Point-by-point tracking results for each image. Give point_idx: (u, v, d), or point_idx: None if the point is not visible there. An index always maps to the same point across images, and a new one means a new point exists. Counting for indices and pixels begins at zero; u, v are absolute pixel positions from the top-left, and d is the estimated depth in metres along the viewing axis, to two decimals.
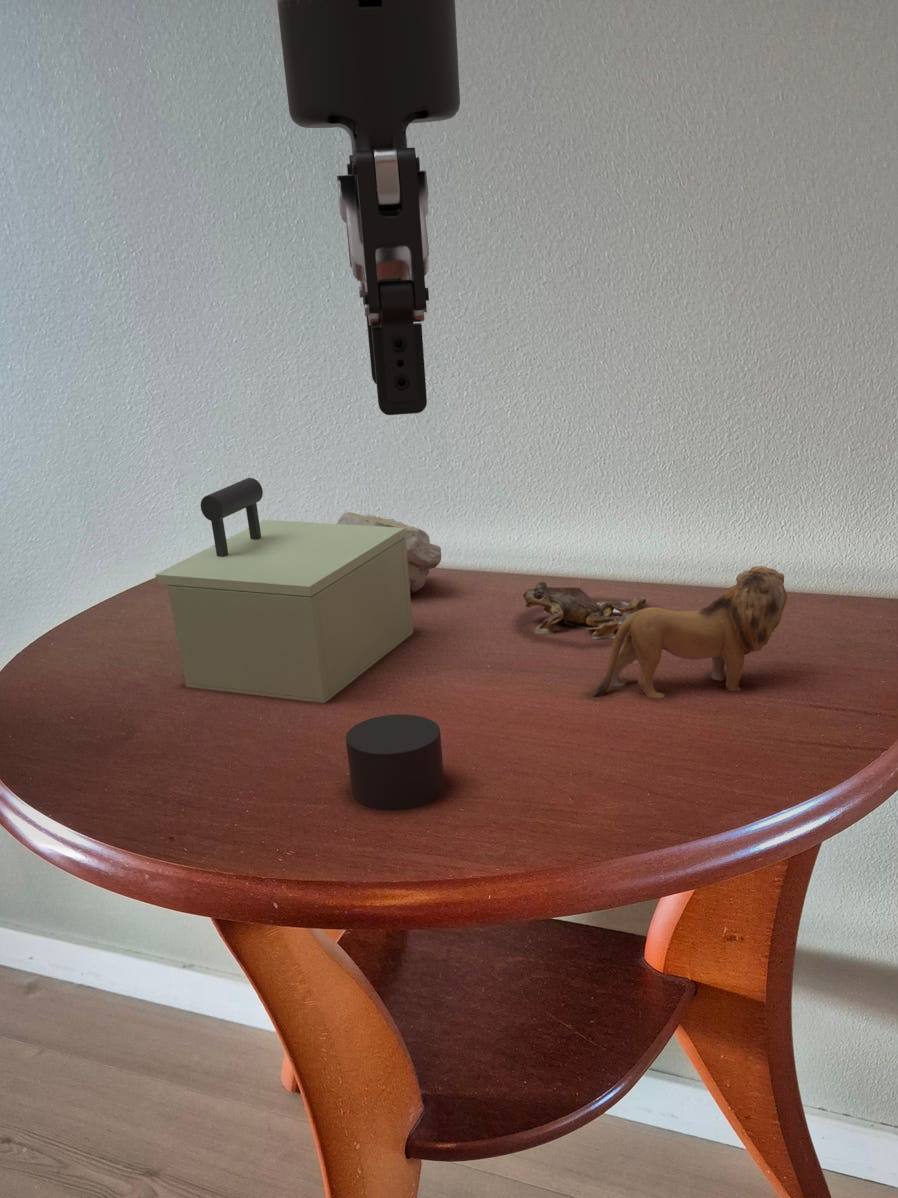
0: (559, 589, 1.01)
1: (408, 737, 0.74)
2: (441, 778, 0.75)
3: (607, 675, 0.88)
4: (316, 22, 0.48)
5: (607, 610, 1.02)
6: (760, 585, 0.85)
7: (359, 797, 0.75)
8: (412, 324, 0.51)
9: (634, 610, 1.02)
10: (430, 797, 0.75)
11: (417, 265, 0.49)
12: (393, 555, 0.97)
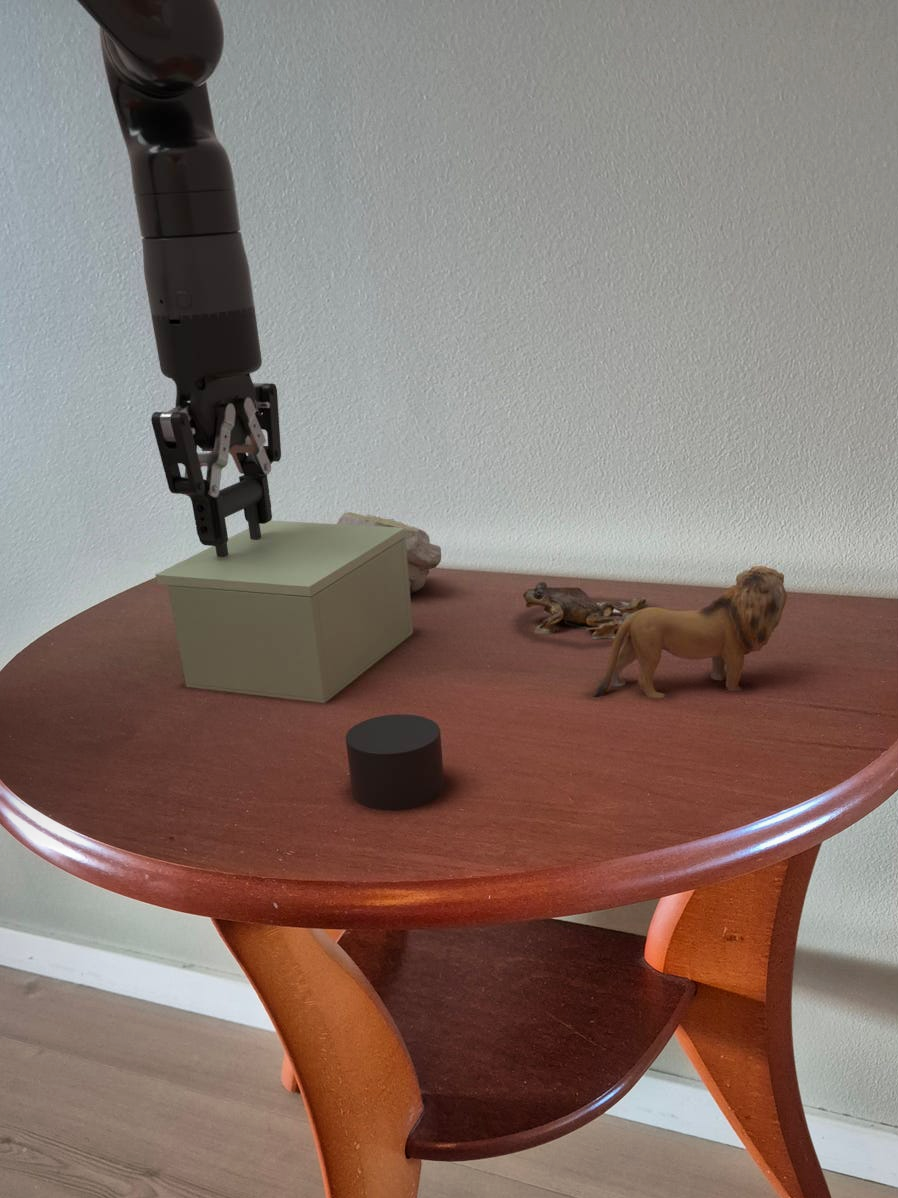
0: (559, 589, 1.01)
1: (408, 737, 0.74)
2: (441, 778, 0.75)
3: (607, 675, 0.88)
4: (156, 328, 0.85)
5: (607, 610, 1.02)
6: (760, 585, 0.85)
7: (359, 797, 0.75)
8: (205, 499, 0.89)
9: (634, 610, 1.02)
10: (430, 797, 0.75)
11: (189, 474, 0.86)
12: (393, 555, 0.97)
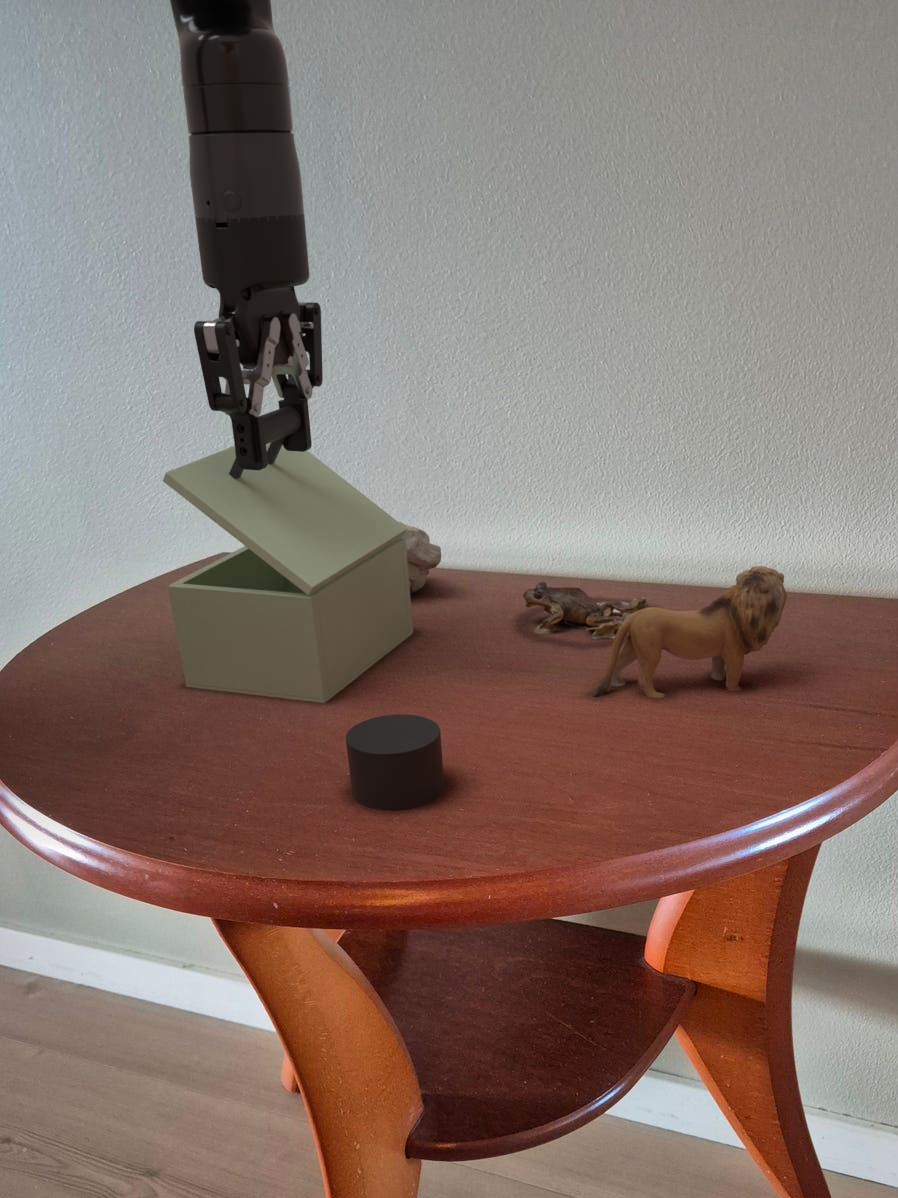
0: (559, 589, 1.01)
1: (408, 737, 0.74)
2: (441, 778, 0.75)
3: (607, 675, 0.88)
4: (200, 233, 0.81)
5: (607, 610, 1.02)
6: (760, 585, 0.85)
7: (359, 797, 0.75)
8: (246, 418, 0.85)
9: (634, 610, 1.02)
10: (430, 797, 0.75)
11: (231, 389, 0.82)
12: (393, 555, 0.97)
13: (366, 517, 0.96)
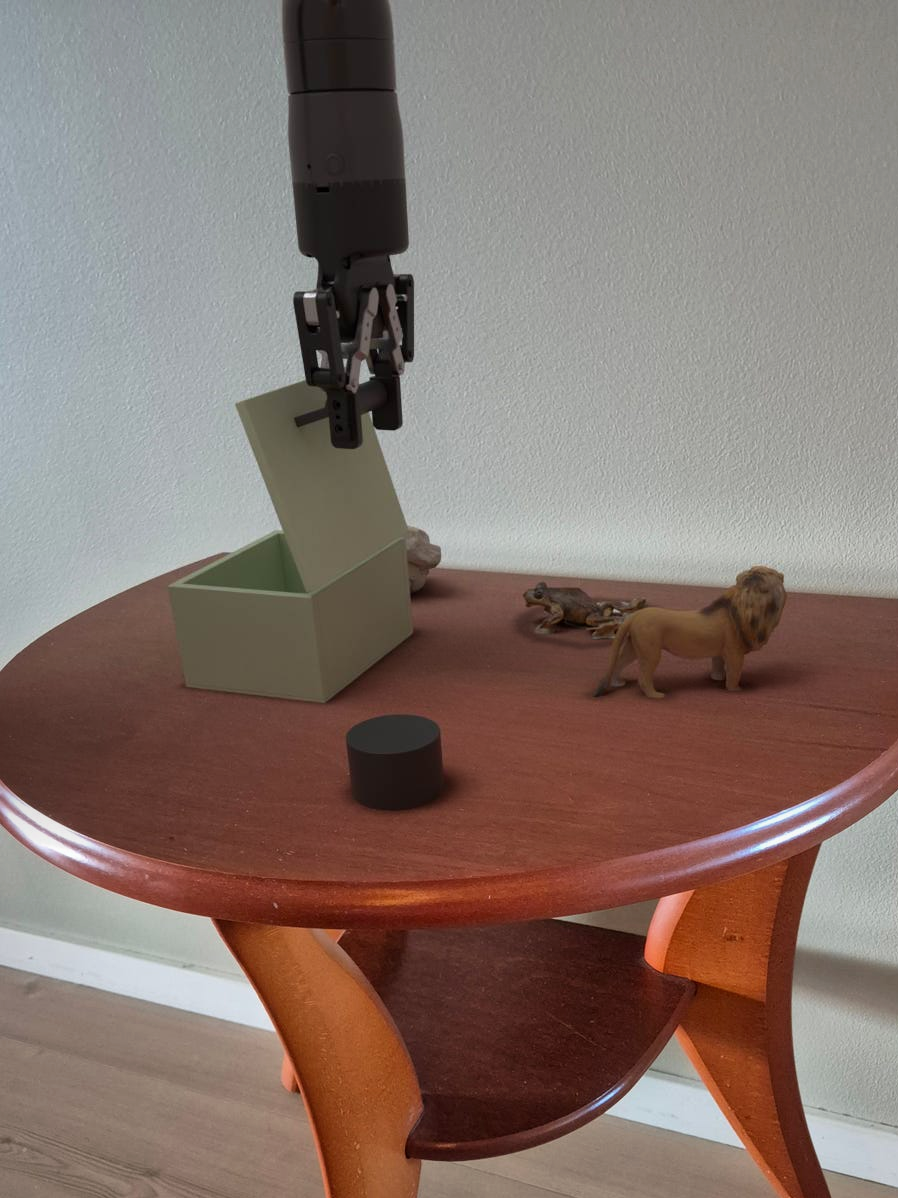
0: (559, 589, 1.01)
1: (408, 737, 0.74)
2: (441, 778, 0.75)
3: (607, 675, 0.88)
4: (299, 199, 0.77)
5: (607, 610, 1.02)
6: (760, 585, 0.85)
7: (359, 797, 0.75)
8: (343, 394, 0.81)
9: (634, 610, 1.02)
10: (430, 797, 0.75)
11: (331, 363, 0.78)
12: (393, 555, 0.97)
13: (383, 508, 0.95)
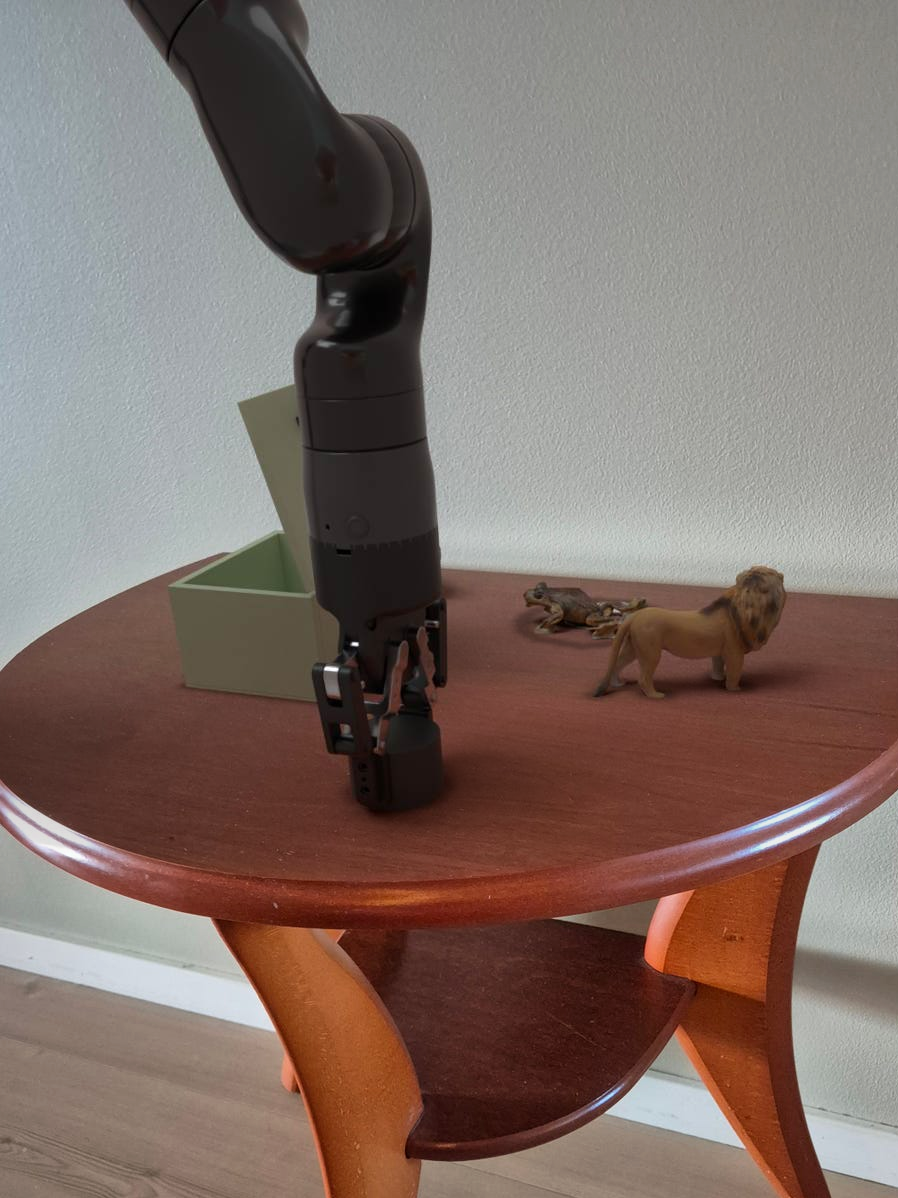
0: (559, 589, 1.01)
1: (408, 737, 0.74)
2: (441, 778, 0.75)
3: (607, 675, 0.88)
4: (316, 555, 0.67)
5: (607, 610, 1.02)
6: (760, 585, 0.85)
7: None
8: (370, 758, 0.71)
9: (634, 610, 1.02)
10: (430, 797, 0.75)
11: (356, 737, 0.68)
12: None
13: None
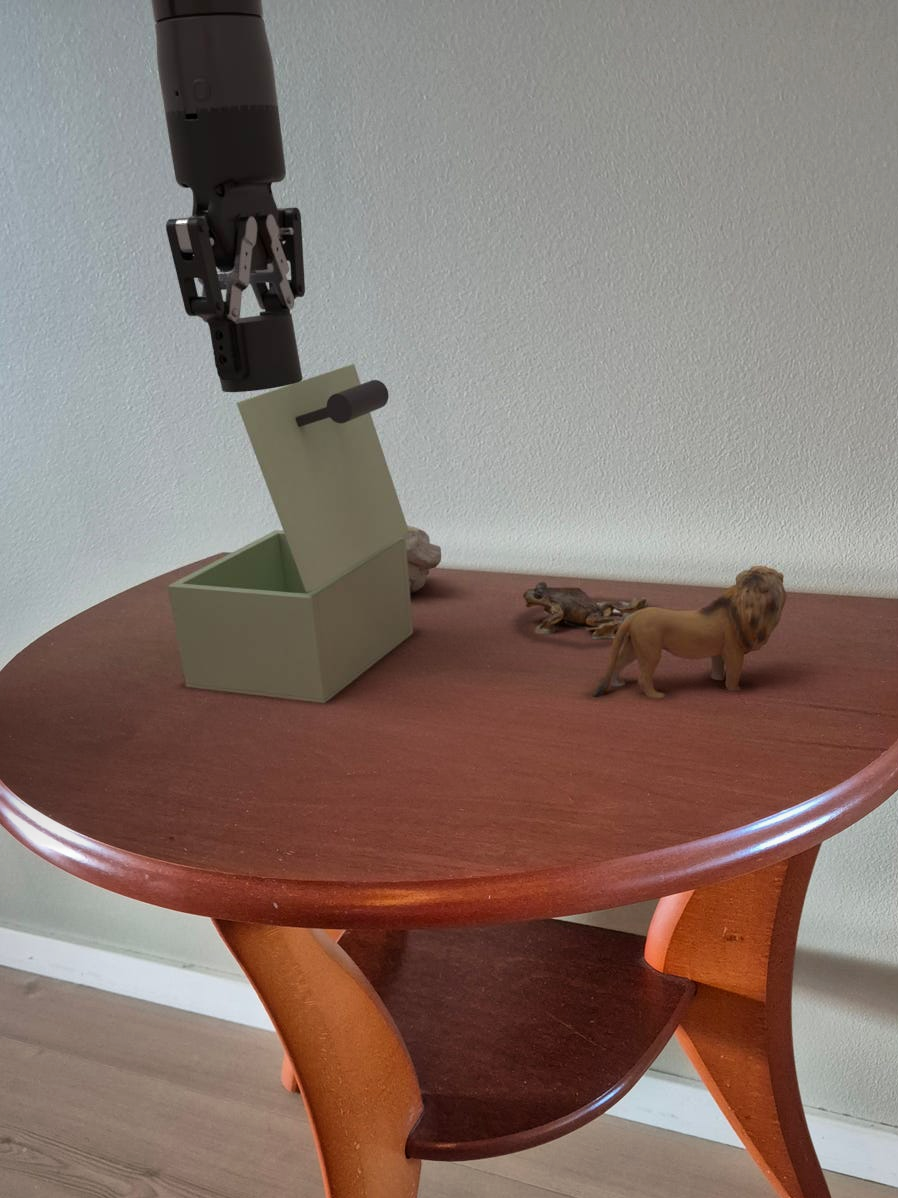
0: (559, 589, 1.01)
1: (262, 318, 0.85)
2: (295, 359, 0.86)
3: (607, 675, 0.88)
4: (170, 128, 0.78)
5: (607, 610, 1.02)
6: (760, 585, 0.85)
7: None
8: (224, 323, 0.82)
9: (634, 610, 1.02)
10: (285, 372, 0.85)
11: (207, 290, 0.79)
12: (393, 555, 0.97)
13: (383, 508, 0.95)
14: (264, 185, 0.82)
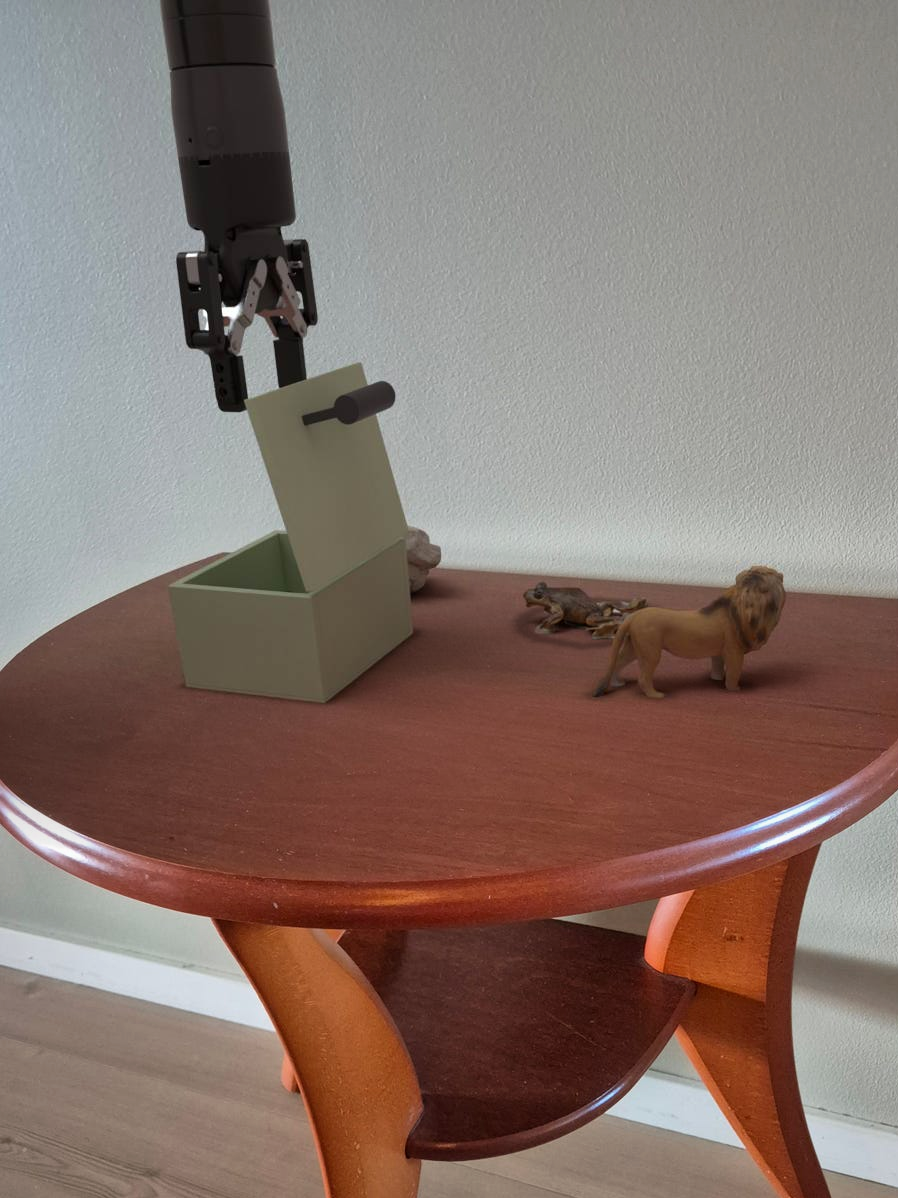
0: (559, 589, 1.01)
1: None
2: None
3: (607, 675, 0.88)
4: (183, 173, 0.79)
5: (607, 610, 1.02)
6: (760, 585, 0.85)
7: None
8: (225, 356, 0.82)
9: (634, 610, 1.02)
10: None
11: (210, 322, 0.79)
12: (393, 555, 0.97)
13: (385, 508, 0.95)
14: (274, 228, 0.84)
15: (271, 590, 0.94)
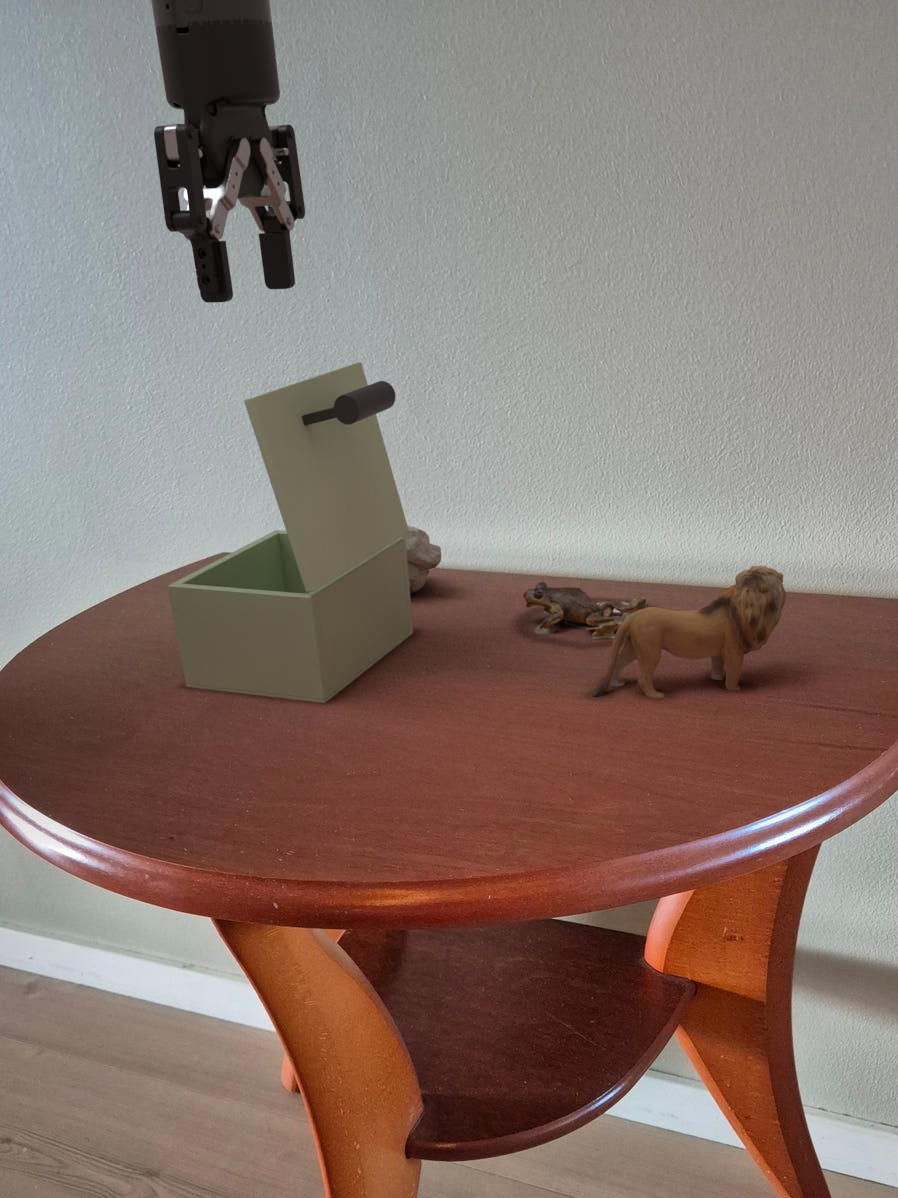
0: (559, 589, 1.01)
1: None
2: None
3: (607, 675, 0.88)
4: (161, 44, 0.76)
5: (607, 610, 1.02)
6: (760, 585, 0.85)
7: None
8: (207, 240, 0.78)
9: (634, 610, 1.02)
10: None
11: (190, 200, 0.76)
12: (393, 555, 0.97)
13: (385, 508, 0.95)
14: (258, 108, 0.80)
15: None
